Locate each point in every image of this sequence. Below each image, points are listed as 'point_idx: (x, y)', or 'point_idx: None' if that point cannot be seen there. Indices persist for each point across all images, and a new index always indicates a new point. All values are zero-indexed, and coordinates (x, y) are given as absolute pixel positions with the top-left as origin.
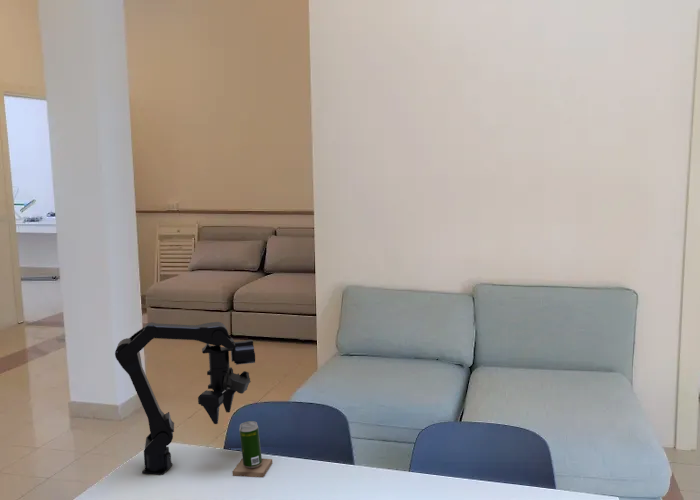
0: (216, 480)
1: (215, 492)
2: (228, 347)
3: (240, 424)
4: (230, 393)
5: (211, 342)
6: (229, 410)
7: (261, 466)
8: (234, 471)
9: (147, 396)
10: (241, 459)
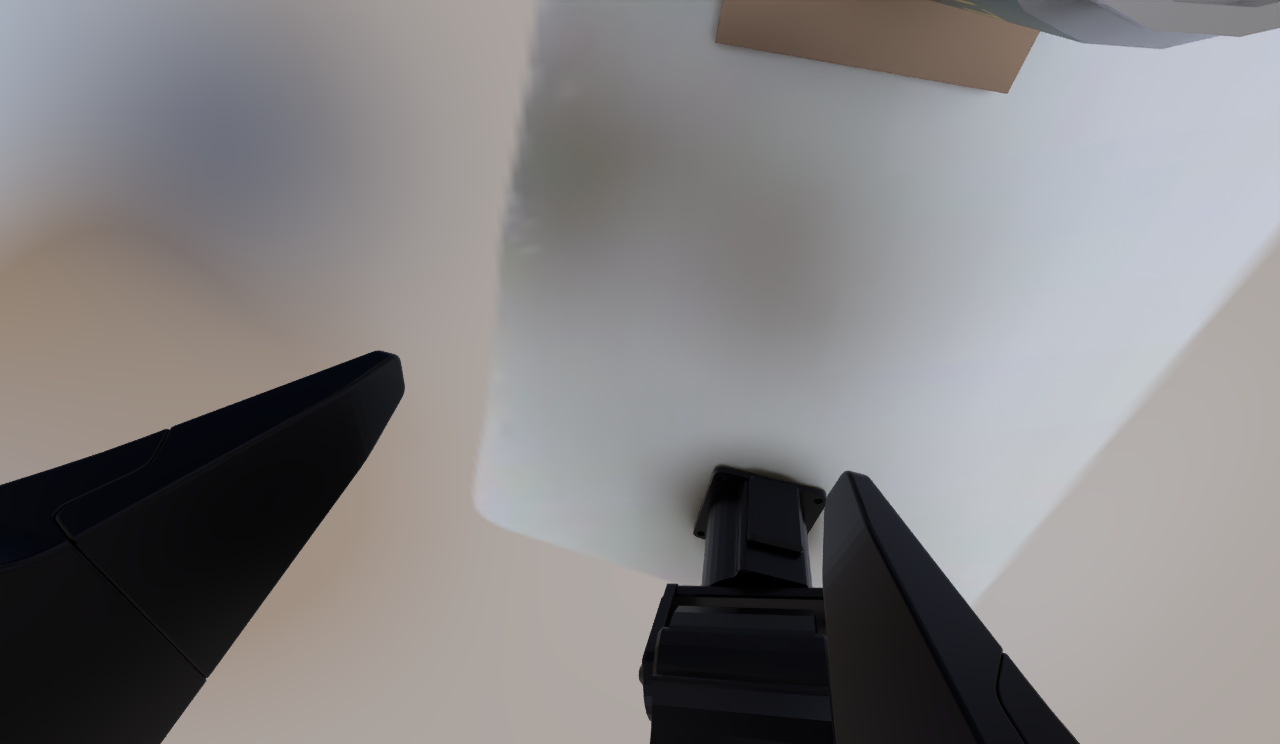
0: (1027, 212)
1: (1277, 184)
2: None
3: (1154, 27)
4: (17, 632)
5: None
6: (379, 371)
7: None
8: (1018, 69)
9: None
10: (757, 46)
